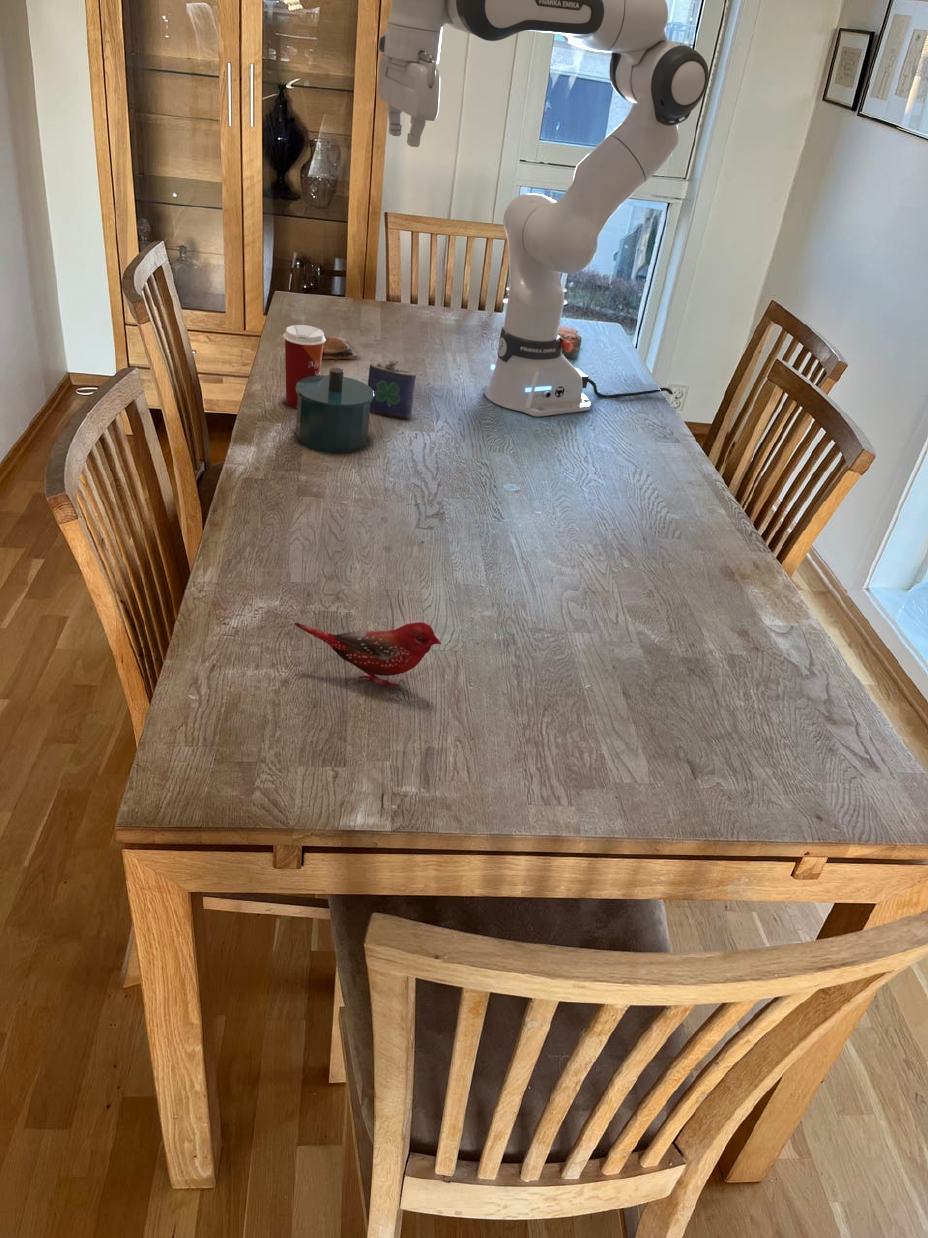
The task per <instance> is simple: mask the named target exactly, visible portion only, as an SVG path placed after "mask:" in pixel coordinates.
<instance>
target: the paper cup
mask: <svg viewBox="0 0 928 1238" xmlns="http://www.w3.org/2000/svg"><path fill="white" fill-rule="evenodd" d="M325 337H326V336H325V333H324V331H323V330H322V329H320V328H319V327H315V326H312V325H306V324H293V325H289V326H287V327H286V329H285V332H284V333H283V339H284V351H285V352H284V354H285V355H284V358H285V359H284V360H285V362H284V363H285V367H284V368H285V400H286V401H285V402H286V404H287V405H288V406H289V407H292V408H294V409H297V400H298V394H297V392H296V384H297V382H299V381H300V380H301V379H304V378H307V377H311V376H318V375H321V367H322V360H323V359H322V352H323V343H324V342H325V340H326V339H325Z"/></svg>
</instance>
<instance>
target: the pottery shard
mask: <svg viewBox="0 0 928 1238" xmlns="http://www.w3.org/2000/svg"><path fill="white" fill-rule="evenodd" d="M578 332H579V330H577V328H573V327H569V326H565V325H560V326H559V331H558V335H559V336H560V337H561V338H563V339H564V340H568V341H569V342H571V343H572V344H573V348H572V350H571V351H570V352H566V351H565V350H564V349H562V355H563V356H564V357H565V358H568V359H575V358H576V357H577V355H578V353H579V351H580V348H581V346H582V341H583V339H582V336H581V335H579V334H578ZM564 340H563V341H564Z"/></svg>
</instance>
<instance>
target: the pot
mask: <svg viewBox="0 0 928 1238" xmlns="http://www.w3.org/2000/svg"><path fill="white" fill-rule="evenodd" d="M370 407H371V402H370V403H369V404H366V405H364V406H360V407H353V408H335V407H327V406H322V405H318V404H315V403H312V402H309V401H307V400H305V399H303V398H302V397H300V396H299V395H298V400H297V408H296V419H295V420H296V423H295V435H296V439H297V440H298V442H299V443H300V444H302V445H304V446H306V447H308V448H310V449H313V450H316V451H319V452H325V453H334V454H343V453H344V454H345V453H352V452H356V451H358V450H361V449H363V448H364V447H365V446H366V445H367V443H368V437H369V429H370V428H369V427H370V416H371V412H370Z"/></svg>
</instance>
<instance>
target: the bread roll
mask: <svg viewBox="0 0 928 1238" xmlns="http://www.w3.org/2000/svg"><path fill="white" fill-rule="evenodd" d="M324 337H325V339H326V340H325V342H324V343H323V352H322V360H324V359H325V360H330V359H333V360H343V359H344V360H345V359H346V360H347V359H348V360H349V359H351V360H353V359H355V360H357V359H358V353H357V352H356V351H355V350H354V349H353V347H352V346H351V344H350V343H349V342H348V341H347V340H346V339H344V338H343V337H341V336H340V337H339V336H328V335H327V336H324Z"/></svg>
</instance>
